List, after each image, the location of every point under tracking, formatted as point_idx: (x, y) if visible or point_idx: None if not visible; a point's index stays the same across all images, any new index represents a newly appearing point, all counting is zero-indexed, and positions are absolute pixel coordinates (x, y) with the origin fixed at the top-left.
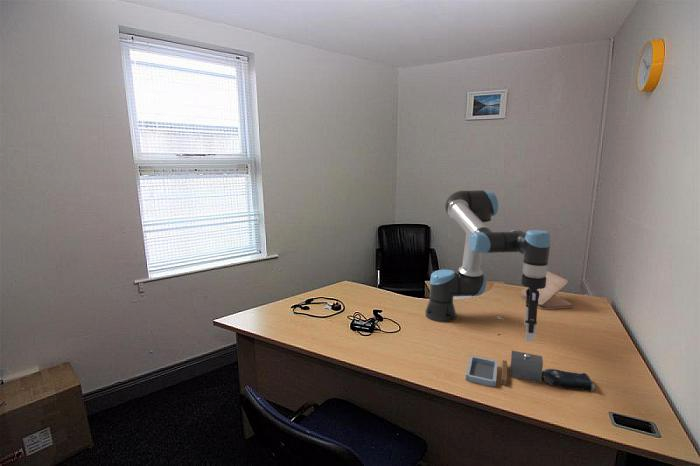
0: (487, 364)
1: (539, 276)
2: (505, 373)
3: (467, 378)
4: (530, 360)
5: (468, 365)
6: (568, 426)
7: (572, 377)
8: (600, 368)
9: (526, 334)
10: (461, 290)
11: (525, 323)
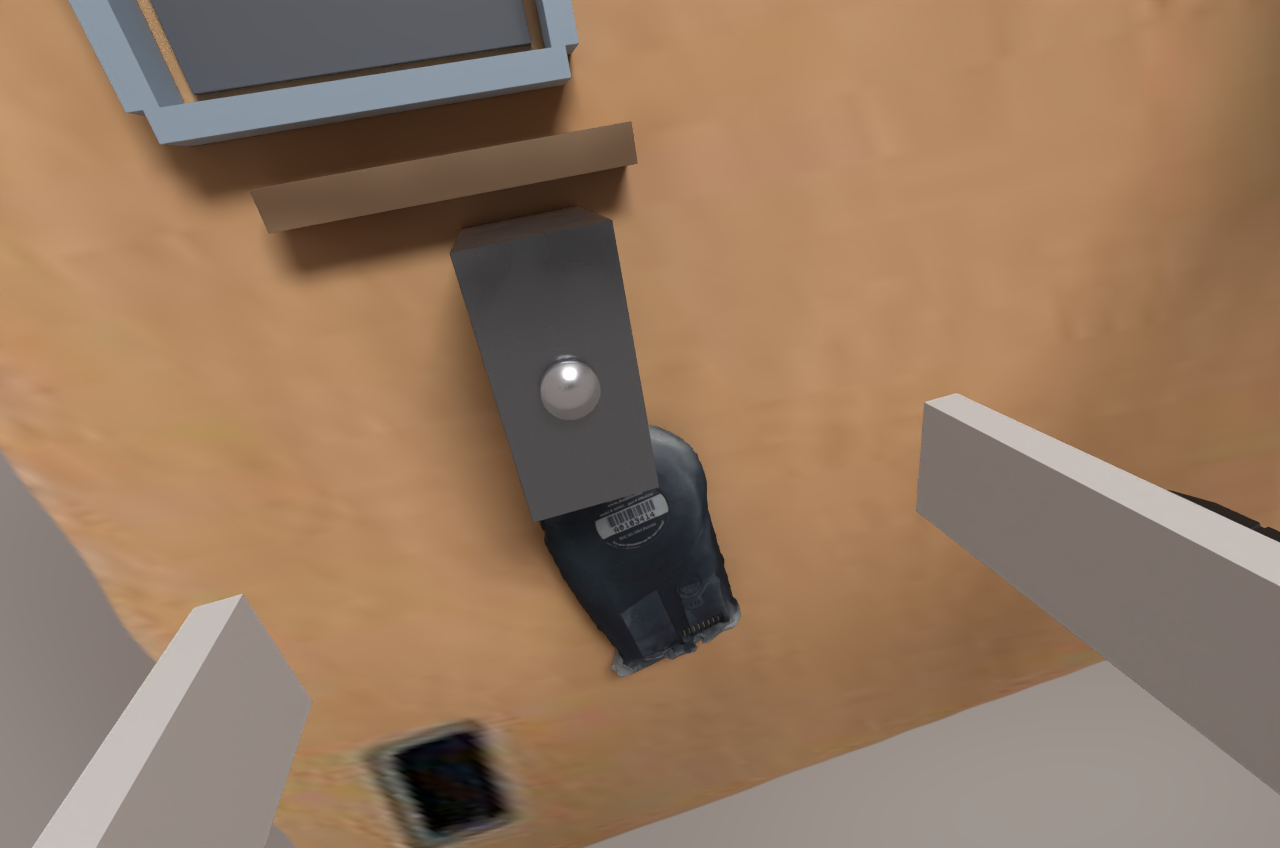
0: None
1: None
2: (395, 199)
3: None
4: (508, 430)
5: None
6: (146, 644)
7: (648, 587)
8: (867, 619)
9: (119, 737)
10: None
11: (945, 428)
